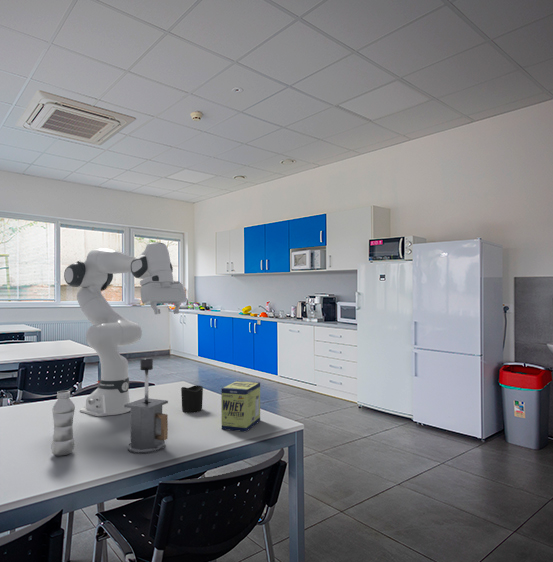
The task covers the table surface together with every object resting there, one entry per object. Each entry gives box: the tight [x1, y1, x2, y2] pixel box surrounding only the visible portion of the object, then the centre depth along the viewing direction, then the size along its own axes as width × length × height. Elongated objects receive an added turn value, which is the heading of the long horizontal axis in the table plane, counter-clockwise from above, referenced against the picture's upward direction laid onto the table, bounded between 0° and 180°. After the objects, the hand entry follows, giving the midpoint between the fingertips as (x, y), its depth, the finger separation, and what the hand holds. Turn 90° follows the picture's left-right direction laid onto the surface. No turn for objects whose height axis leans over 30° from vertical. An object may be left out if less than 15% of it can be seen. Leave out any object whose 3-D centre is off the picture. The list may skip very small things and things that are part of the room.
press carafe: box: [124, 397, 169, 455], centre depth 144 cm, size 14×12×15 cm
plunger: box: [139, 357, 154, 404], centre depth 145 cm, size 8×8×18 cm
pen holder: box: [180, 384, 204, 414], centre depth 189 cm, size 9×9×10 cm
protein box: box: [220, 380, 261, 432], centre depth 168 cm, size 10×16×16 cm
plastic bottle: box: [51, 390, 76, 457], centre depth 138 cm, size 6×7×20 cm
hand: (167, 313), depth 170 cm, fingers open, 8 cm apart
